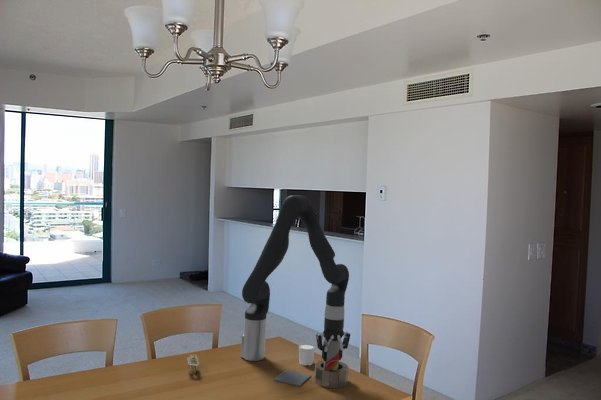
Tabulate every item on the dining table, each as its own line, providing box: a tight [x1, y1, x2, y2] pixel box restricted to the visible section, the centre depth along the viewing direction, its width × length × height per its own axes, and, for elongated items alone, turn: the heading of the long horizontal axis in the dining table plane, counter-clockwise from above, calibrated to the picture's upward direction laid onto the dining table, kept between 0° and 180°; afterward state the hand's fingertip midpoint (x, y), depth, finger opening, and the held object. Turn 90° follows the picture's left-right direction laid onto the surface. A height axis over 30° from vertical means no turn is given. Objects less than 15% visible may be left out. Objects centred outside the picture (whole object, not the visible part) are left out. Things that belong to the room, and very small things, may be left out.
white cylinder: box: [298, 344, 316, 367], centre depth 206 cm, size 7×7×7 cm
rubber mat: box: [273, 369, 312, 387], centre depth 189 cm, size 11×11×1 cm
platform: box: [187, 353, 200, 376], centre depth 191 cm, size 12×18×7 cm, turn 17°
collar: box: [313, 359, 349, 389], centre depth 188 cm, size 12×12×6 cm
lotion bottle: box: [324, 331, 340, 370], centre depth 188 cm, size 6×6×20 cm
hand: (331, 359), depth 188 cm, fingers closed on lotion bottle, 5 cm apart
